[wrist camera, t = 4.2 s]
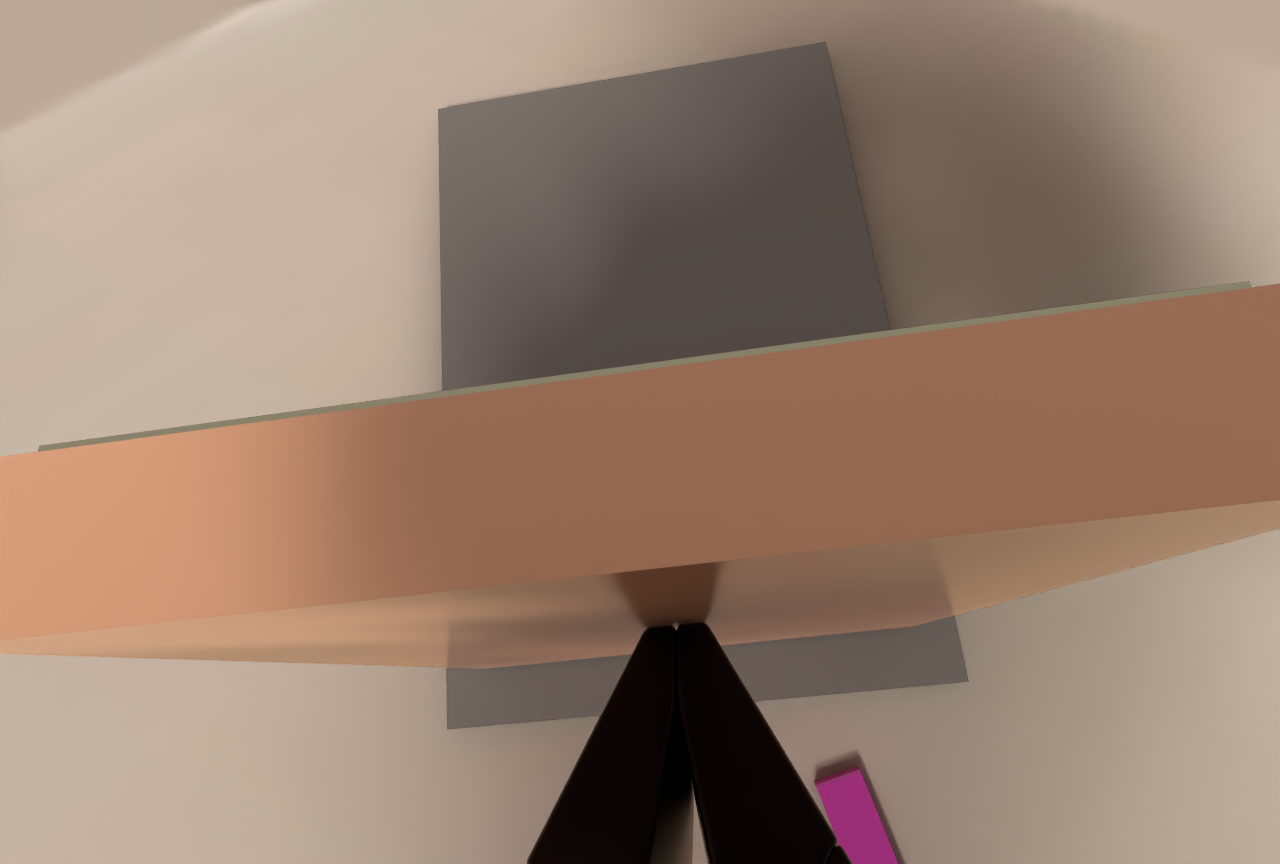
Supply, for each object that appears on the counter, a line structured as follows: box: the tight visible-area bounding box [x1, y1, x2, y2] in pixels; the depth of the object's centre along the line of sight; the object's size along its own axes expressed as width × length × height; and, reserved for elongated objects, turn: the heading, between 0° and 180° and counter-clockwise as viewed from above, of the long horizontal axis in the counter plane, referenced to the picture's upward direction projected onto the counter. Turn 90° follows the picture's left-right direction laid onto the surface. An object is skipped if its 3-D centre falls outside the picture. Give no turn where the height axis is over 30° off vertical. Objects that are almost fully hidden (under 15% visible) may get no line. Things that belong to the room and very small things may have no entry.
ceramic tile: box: [0, 281, 1280, 669], centre depth 10 cm, size 2×10×12 cm, turn 96°
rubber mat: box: [438, 42, 969, 729], centre depth 18 cm, size 18×12×1 cm, turn 6°
